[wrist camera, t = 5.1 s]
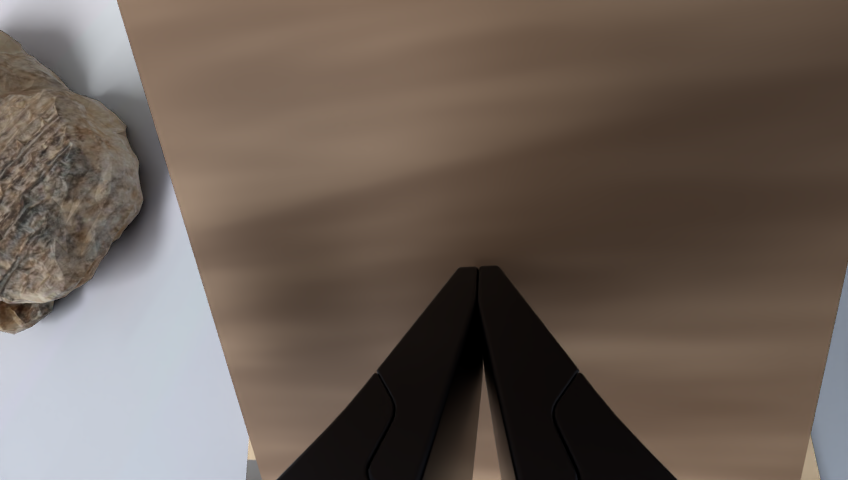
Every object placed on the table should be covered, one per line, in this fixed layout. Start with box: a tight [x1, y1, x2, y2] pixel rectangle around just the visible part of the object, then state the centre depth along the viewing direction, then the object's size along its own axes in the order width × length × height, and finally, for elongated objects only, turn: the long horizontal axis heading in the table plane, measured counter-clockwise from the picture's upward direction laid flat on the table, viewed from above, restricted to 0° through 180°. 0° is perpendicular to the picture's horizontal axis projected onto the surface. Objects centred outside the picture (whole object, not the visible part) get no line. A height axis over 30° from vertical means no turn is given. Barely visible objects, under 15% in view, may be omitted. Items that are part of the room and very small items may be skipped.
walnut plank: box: [117, 0, 848, 480], centre depth 9 cm, size 2×14×20 cm
